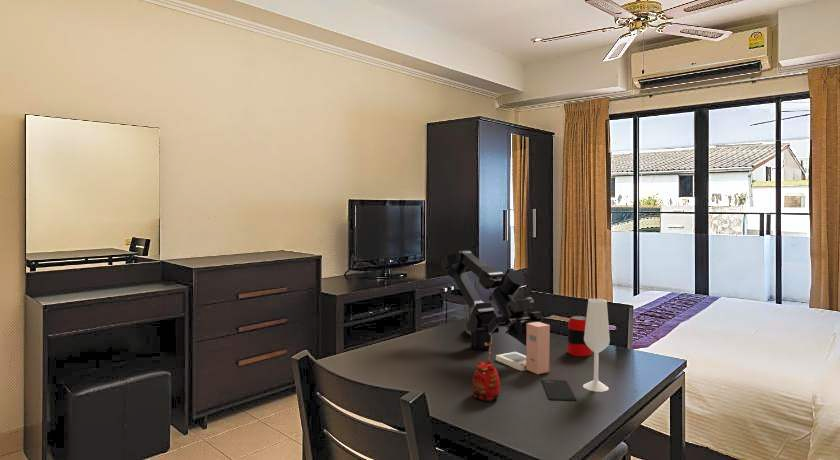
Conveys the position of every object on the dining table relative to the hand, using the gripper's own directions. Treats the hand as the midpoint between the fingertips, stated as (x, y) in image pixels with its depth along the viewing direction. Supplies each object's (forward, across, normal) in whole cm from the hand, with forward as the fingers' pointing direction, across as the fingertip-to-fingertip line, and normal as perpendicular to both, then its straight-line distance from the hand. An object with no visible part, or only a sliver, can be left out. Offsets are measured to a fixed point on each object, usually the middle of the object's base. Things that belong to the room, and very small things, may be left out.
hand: (528, 345), depth 157 cm
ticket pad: (+1, 0, +8) cm, 8 cm away
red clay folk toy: (+14, -26, -4) cm, 30 cm away
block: (+8, 0, +2) cm, 8 cm away
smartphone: (+18, -6, -8) cm, 21 cm away
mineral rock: (-23, +9, +33) cm, 41 cm away
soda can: (+3, +25, +7) cm, 26 cm away
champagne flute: (+20, +5, -10) cm, 23 cm away
